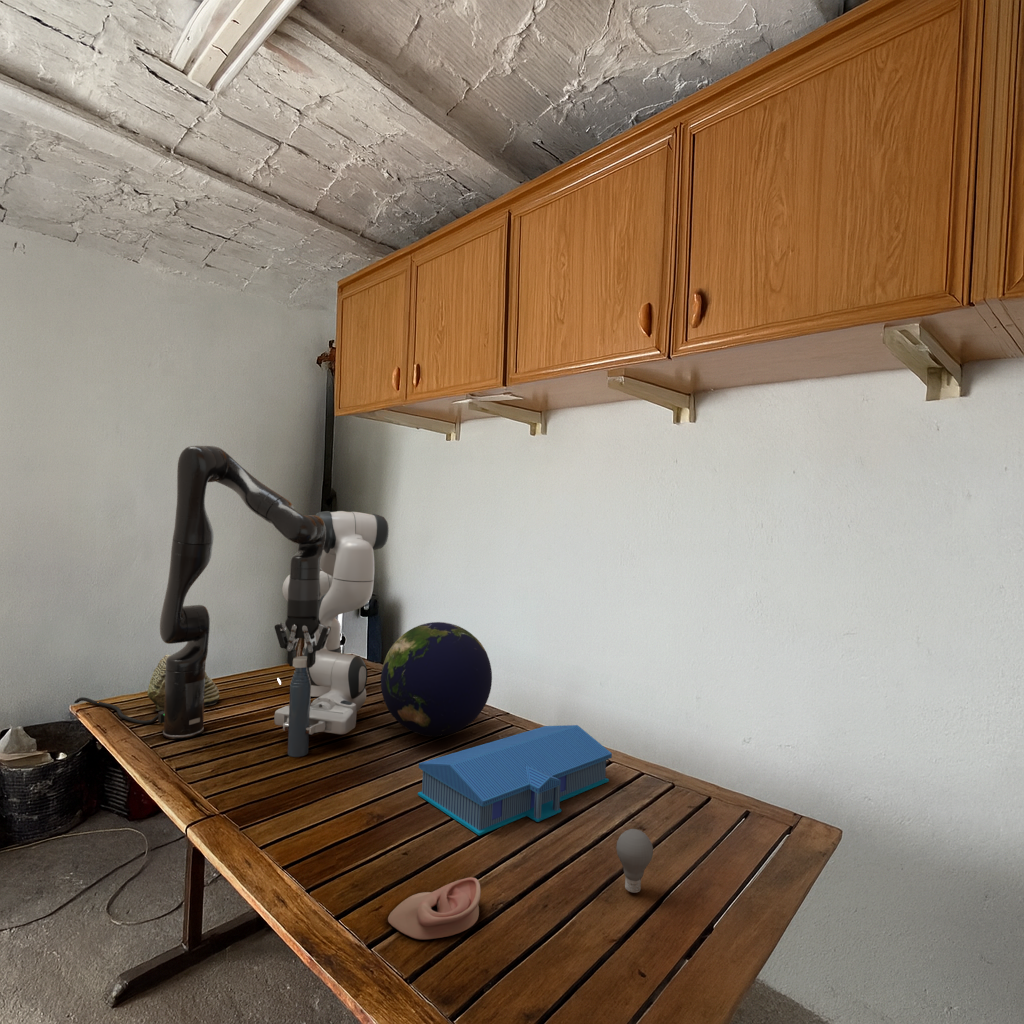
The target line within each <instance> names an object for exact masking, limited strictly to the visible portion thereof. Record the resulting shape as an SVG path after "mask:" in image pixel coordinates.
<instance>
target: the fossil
mask: <svg viewBox="0 0 1024 1024" xmlns="http://www.w3.org/2000/svg"><path fill="white" fill-rule="evenodd" d="M171 655H172V654H165V655H164V656H163V657H162V658H161V659H160V660H159V662H158V663H157V666H156V667H155V669H154V670H153V672H152V675H151V677H150V680H149V684H148V688H147V697H148V699H149V700H150V701H152V703H153V704H154V706H155V711H158V712H161V711H164V705H165V674H166V660H167V658H168V657H169V656H171ZM220 698H221V696H220V690H219V688H218V686H217V685H216V683H215V682H214V681H213V679H212V678H211V677H209V675H208V674H207V672H206V671H205V693H204V707H207V706H213V705H215V704H217V703H218V701H219V699H220Z"/></svg>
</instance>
